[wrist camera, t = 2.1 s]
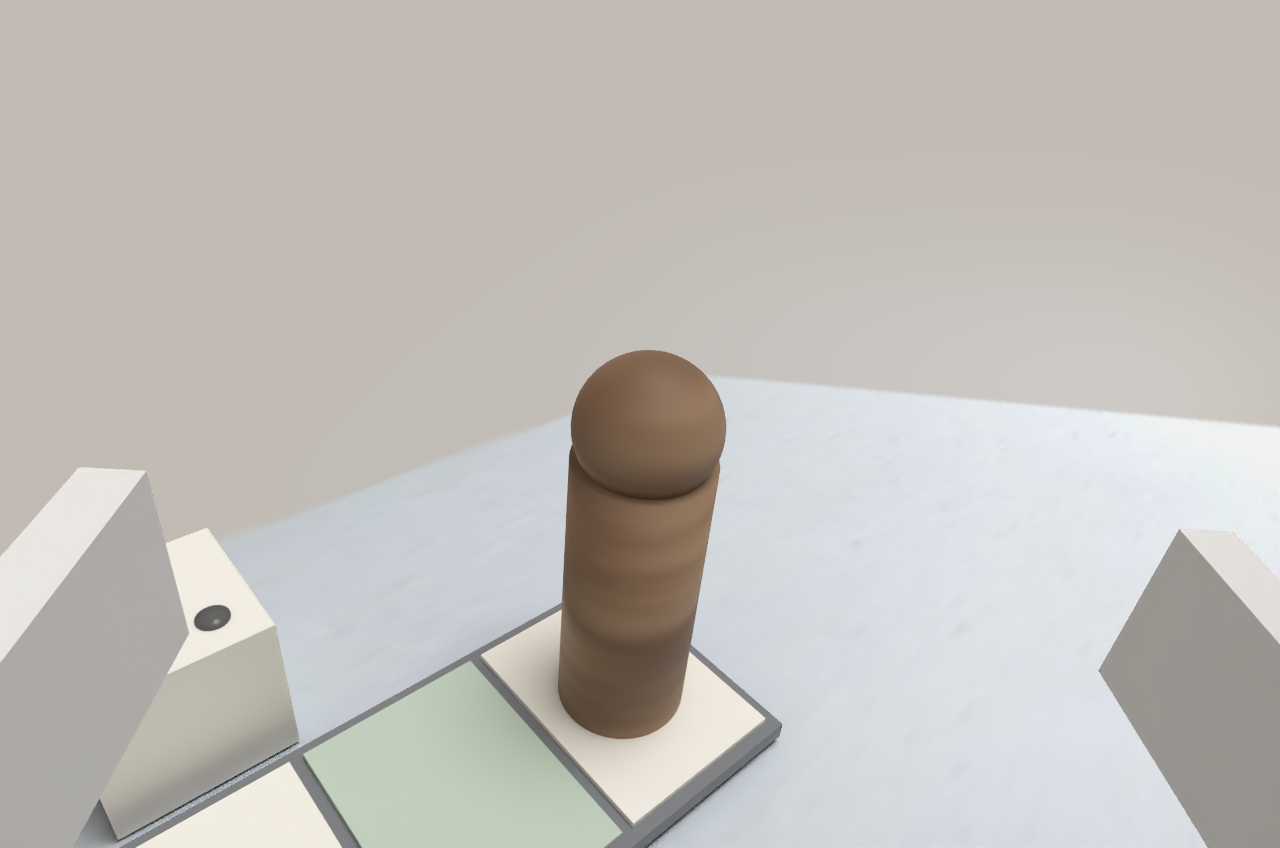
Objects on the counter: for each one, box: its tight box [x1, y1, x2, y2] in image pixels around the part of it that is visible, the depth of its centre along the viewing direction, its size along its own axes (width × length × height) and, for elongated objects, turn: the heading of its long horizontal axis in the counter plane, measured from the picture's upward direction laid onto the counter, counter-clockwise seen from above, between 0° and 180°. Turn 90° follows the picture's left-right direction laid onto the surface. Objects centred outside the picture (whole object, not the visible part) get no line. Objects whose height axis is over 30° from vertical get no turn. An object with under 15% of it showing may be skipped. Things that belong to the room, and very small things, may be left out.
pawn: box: [558, 350, 726, 739], centre depth 24 cm, size 4×4×12 cm
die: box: [100, 528, 300, 840], centre depth 25 cm, size 5×5×5 cm
